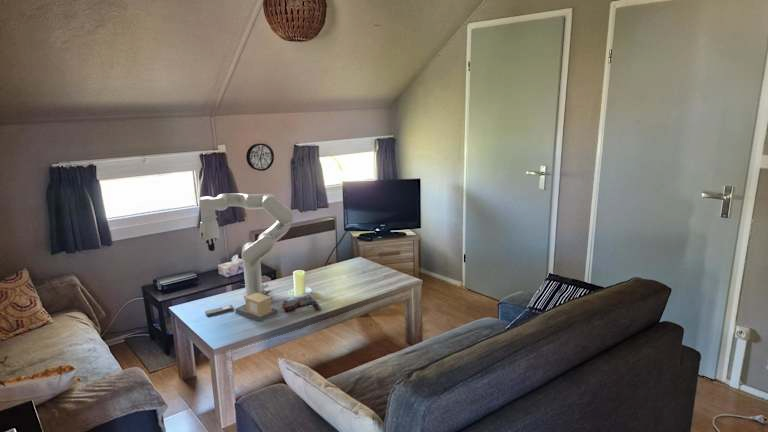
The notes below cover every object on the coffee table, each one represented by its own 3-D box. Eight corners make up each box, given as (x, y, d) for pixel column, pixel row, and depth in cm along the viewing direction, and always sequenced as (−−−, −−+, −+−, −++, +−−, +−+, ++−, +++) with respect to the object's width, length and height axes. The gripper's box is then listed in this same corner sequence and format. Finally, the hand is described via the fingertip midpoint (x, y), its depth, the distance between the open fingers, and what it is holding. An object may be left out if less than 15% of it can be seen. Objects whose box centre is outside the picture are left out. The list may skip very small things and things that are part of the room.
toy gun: (286, 316, 265) (281, 299, 262) (321, 308, 266) (317, 291, 263) (285, 319, 261) (280, 302, 258) (321, 311, 261) (316, 294, 259)
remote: (207, 317, 258) (207, 313, 257) (205, 314, 261) (205, 311, 261) (234, 311, 265) (233, 307, 265) (231, 308, 269) (231, 304, 268)
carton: (257, 292, 261) (270, 297, 255) (258, 306, 263) (271, 311, 257) (244, 297, 255) (258, 302, 248) (246, 311, 257) (259, 317, 250)
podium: (253, 304, 271) (253, 300, 271) (277, 313, 260) (277, 309, 259) (235, 312, 262) (235, 308, 262) (260, 322, 251) (259, 317, 250)
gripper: (215, 215, 278) (218, 246, 282) (192, 220, 266) (196, 252, 270) (224, 217, 274) (226, 248, 278) (200, 222, 262) (204, 255, 266)
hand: (211, 250), depth 274 cm, fingers closed
